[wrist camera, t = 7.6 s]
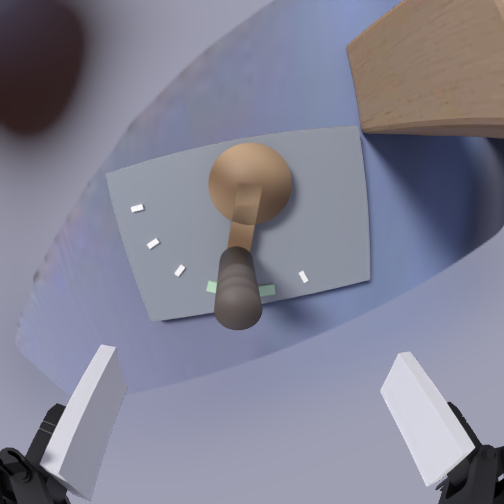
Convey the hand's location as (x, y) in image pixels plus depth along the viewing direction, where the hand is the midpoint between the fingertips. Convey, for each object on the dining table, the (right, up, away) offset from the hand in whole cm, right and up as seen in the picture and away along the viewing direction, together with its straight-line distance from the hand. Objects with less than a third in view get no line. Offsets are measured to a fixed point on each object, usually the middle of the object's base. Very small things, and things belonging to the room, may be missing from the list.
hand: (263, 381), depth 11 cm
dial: (-1, +8, +13) cm, 16 cm away
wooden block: (+14, +23, +11) cm, 29 cm away
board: (-1, +8, +15) cm, 17 cm away
